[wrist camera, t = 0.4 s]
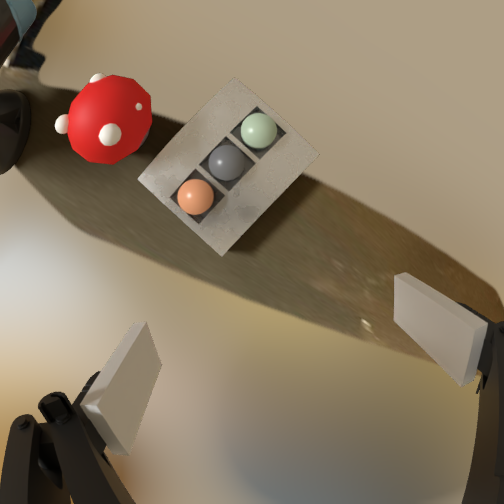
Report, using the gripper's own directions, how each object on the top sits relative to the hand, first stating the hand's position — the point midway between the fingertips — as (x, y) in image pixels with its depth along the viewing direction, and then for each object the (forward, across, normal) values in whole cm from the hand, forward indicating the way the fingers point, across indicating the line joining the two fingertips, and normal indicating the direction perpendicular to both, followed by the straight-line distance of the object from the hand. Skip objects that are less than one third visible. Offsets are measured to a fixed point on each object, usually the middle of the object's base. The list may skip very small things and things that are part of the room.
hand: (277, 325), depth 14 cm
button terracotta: (+22, -6, +7) cm, 24 cm away
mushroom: (+25, -14, +18) cm, 34 cm away
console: (+25, -2, +10) cm, 27 cm away
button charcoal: (+22, -2, +10) cm, 24 cm away
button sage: (+22, +3, +13) cm, 26 cm away
